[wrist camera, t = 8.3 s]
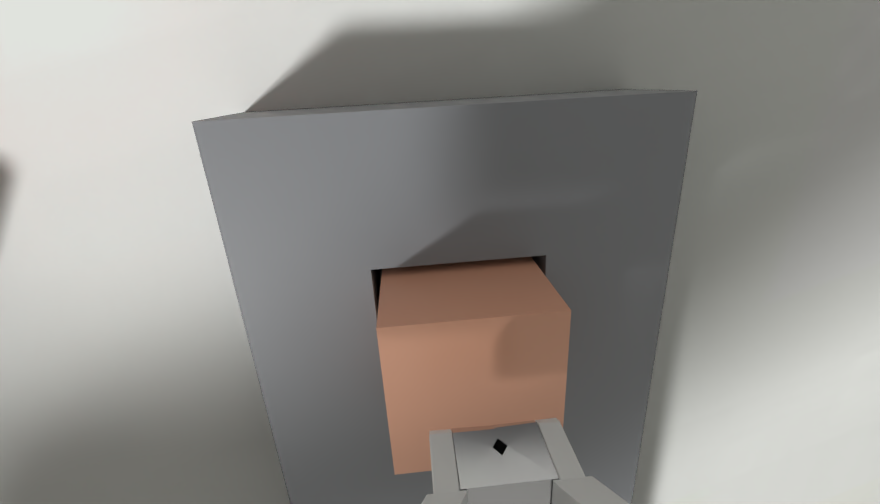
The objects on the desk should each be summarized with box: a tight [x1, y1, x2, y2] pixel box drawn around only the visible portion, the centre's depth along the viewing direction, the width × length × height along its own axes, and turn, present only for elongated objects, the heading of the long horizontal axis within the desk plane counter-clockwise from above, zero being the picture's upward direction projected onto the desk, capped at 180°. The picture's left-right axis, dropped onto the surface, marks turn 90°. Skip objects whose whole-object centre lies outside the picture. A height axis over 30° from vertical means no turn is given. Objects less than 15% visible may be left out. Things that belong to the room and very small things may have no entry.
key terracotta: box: [376, 257, 571, 475], centre depth 14 cm, size 5×5×4 cm
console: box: [192, 89, 697, 504], centre depth 19 cm, size 30×14×4 cm, turn 3°
